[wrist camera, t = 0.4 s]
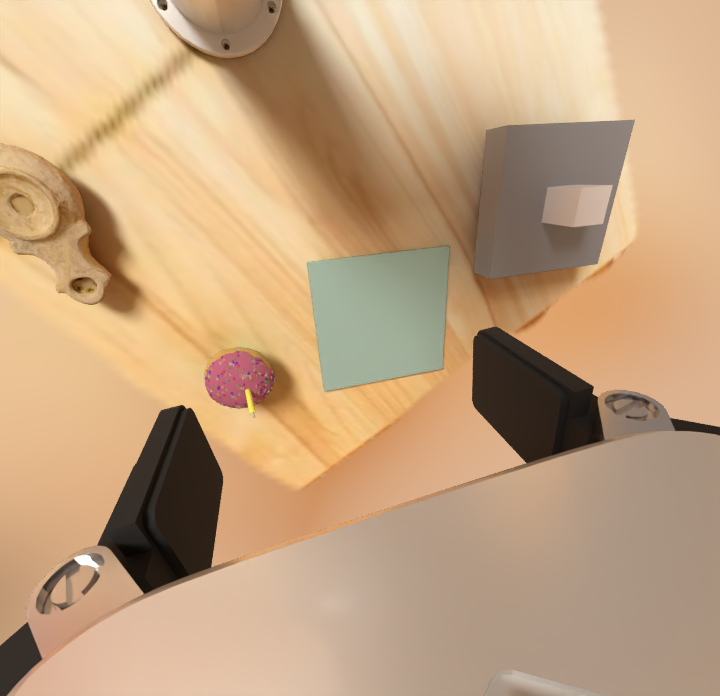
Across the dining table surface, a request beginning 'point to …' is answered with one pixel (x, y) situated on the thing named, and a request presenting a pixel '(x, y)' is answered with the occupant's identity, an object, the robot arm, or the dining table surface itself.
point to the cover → (547, 195)
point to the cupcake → (239, 378)
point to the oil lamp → (49, 222)
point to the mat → (379, 315)
